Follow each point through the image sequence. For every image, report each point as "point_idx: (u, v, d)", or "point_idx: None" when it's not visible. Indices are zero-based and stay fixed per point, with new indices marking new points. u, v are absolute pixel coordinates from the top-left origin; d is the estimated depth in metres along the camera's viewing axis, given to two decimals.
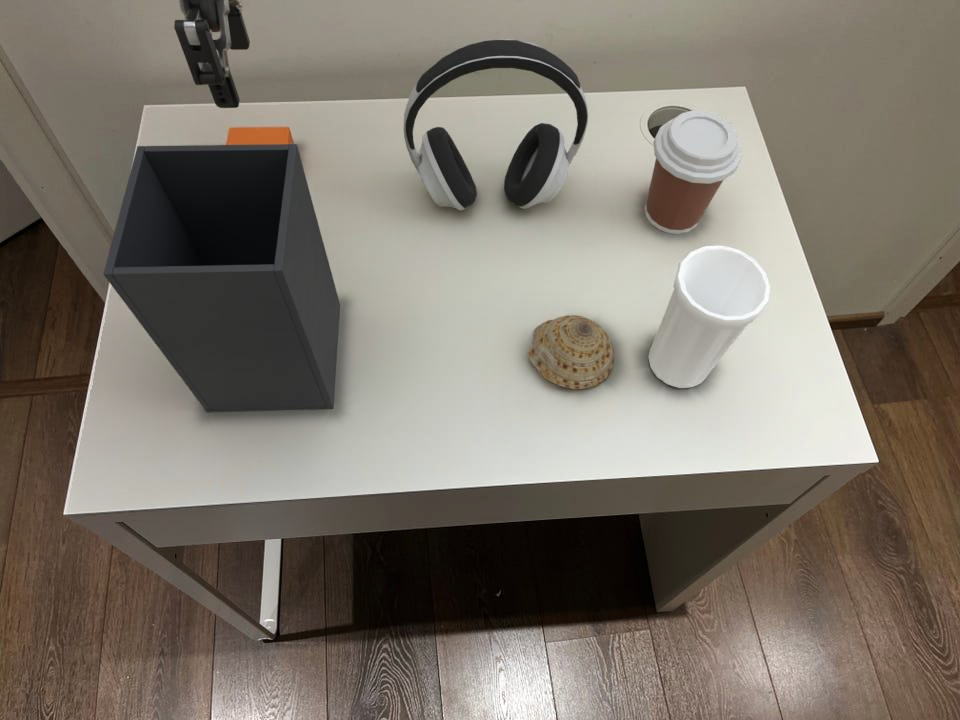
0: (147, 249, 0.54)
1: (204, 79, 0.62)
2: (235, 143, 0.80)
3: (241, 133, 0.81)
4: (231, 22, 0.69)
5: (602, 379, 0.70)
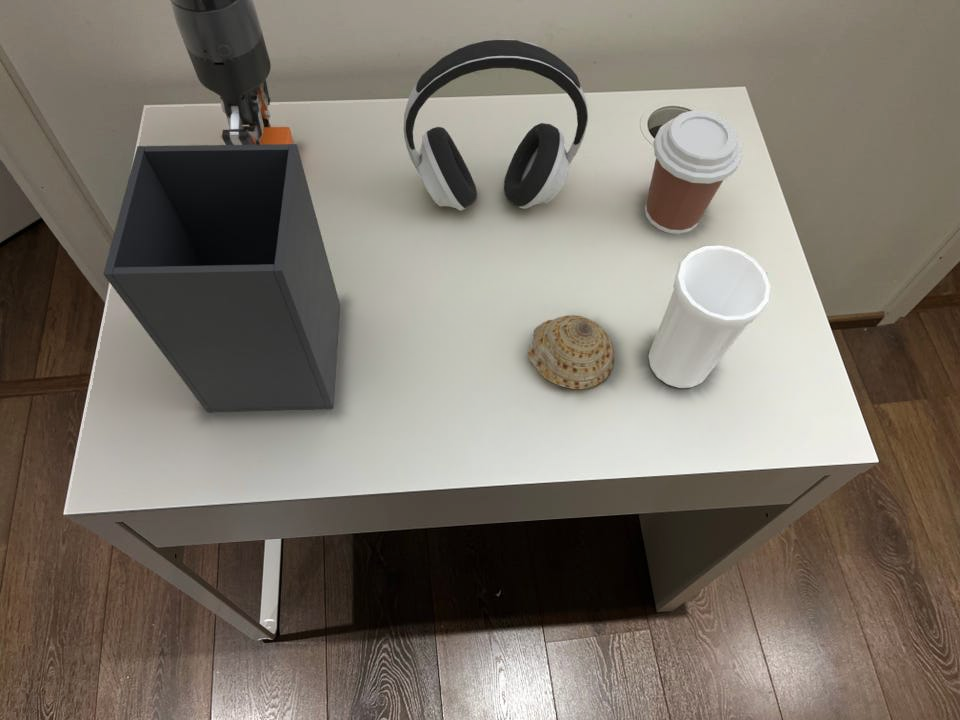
0: (147, 249, 0.54)
1: None
2: None
3: None
4: None
5: (602, 379, 0.70)
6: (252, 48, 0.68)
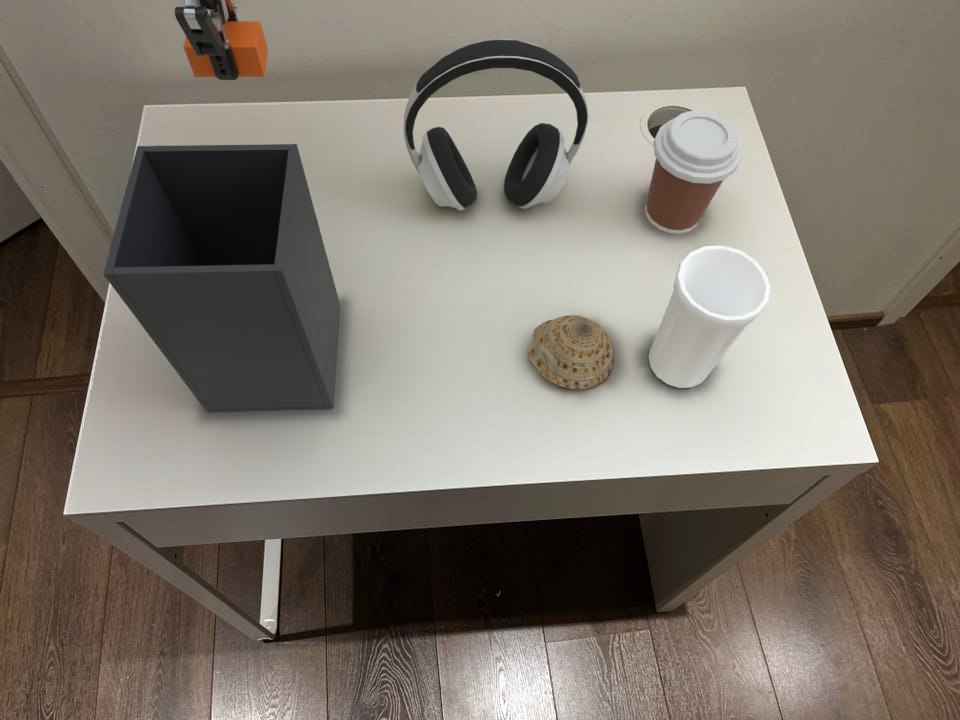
0: (147, 249, 0.54)
1: (205, 49, 0.65)
2: None
3: None
4: None
5: (602, 379, 0.70)
6: None
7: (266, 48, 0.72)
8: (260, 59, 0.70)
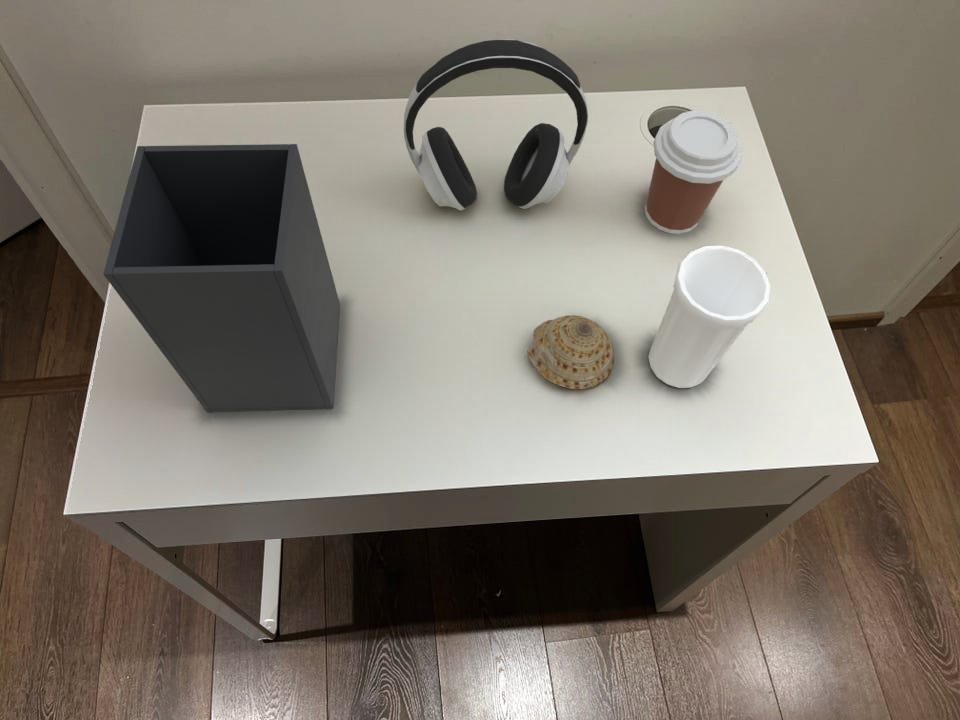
0: (147, 249, 0.54)
1: None
2: None
3: None
4: None
5: (602, 379, 0.70)
6: None
7: None
8: None
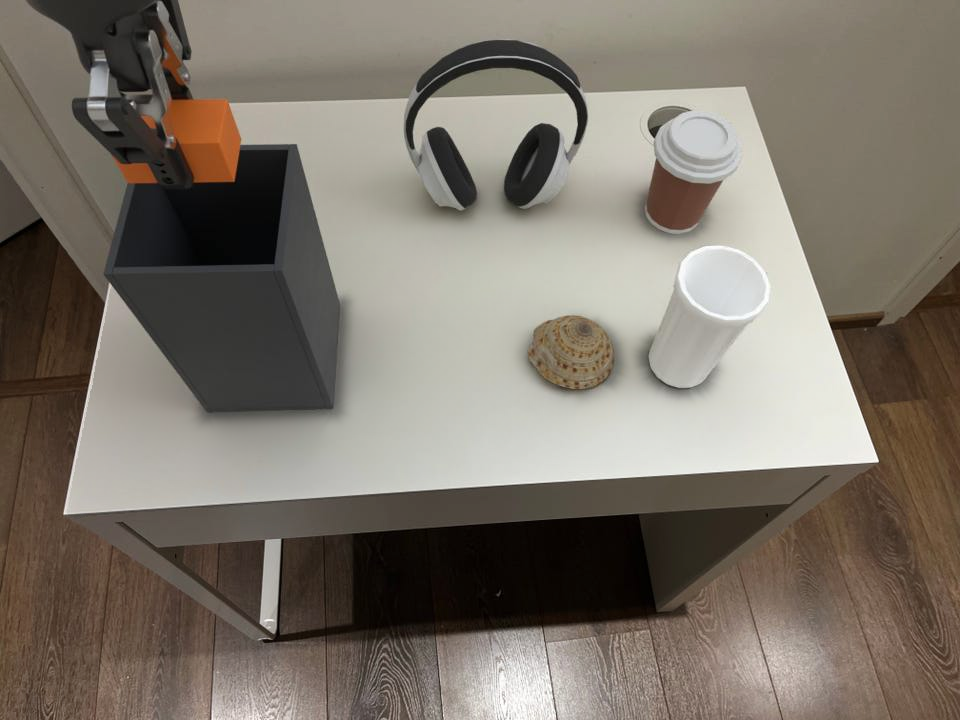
0: (147, 249, 0.54)
1: (134, 156, 0.40)
2: None
3: None
4: None
5: (602, 379, 0.70)
6: None
7: (238, 136, 0.48)
8: (227, 158, 0.45)
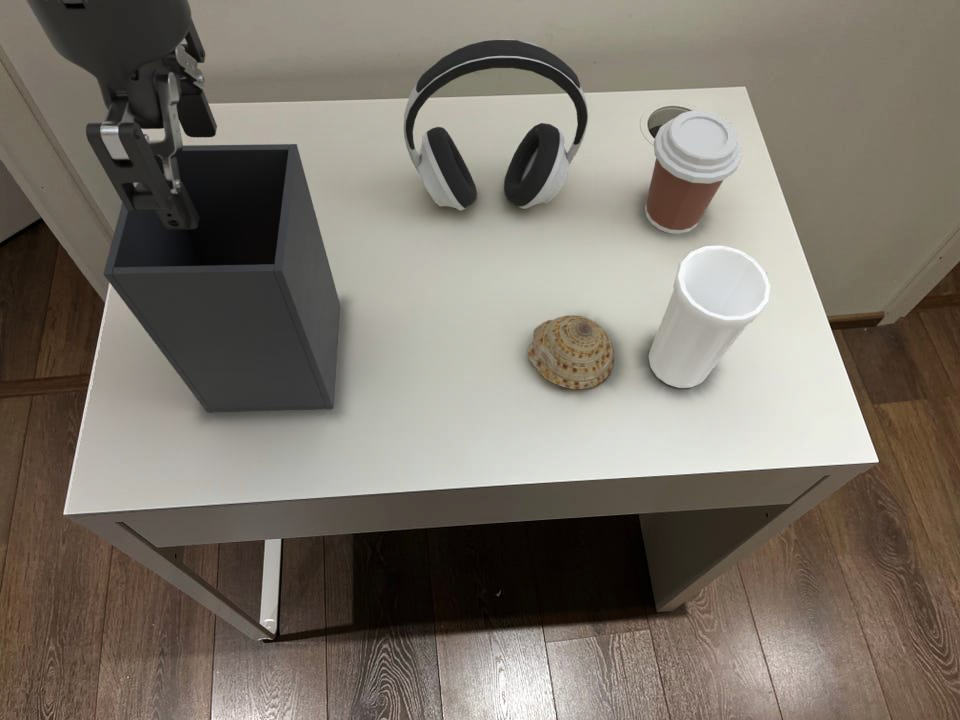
0: (147, 249, 0.54)
1: (140, 203, 0.41)
2: None
3: None
4: (188, 103, 0.48)
5: (602, 379, 0.70)
6: None
7: None
8: None
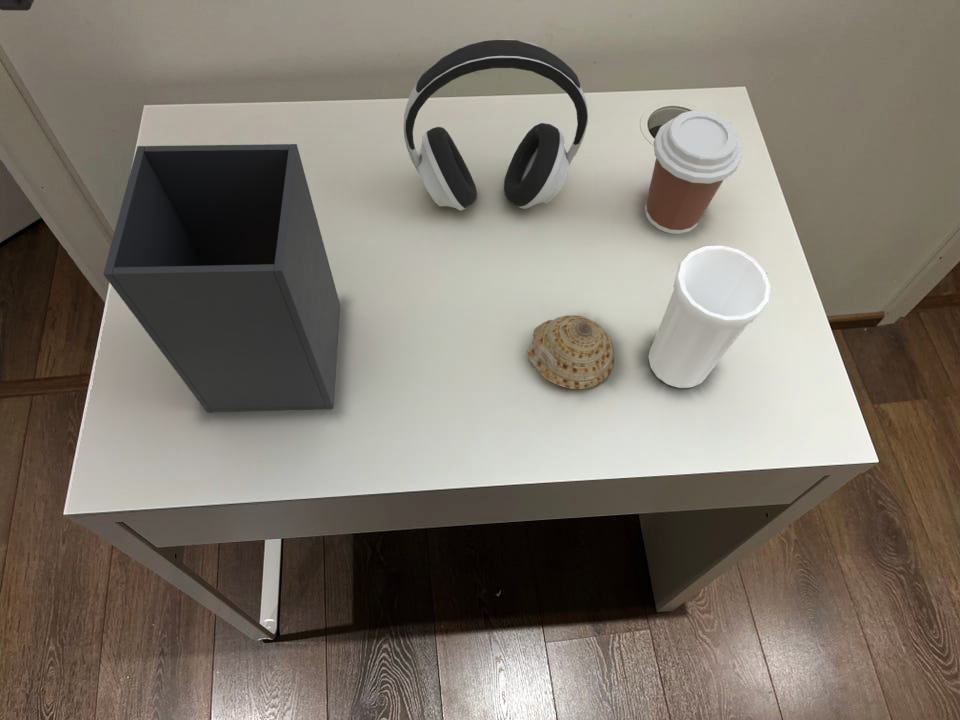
0: (147, 249, 0.54)
1: None
2: None
3: None
4: None
5: (602, 379, 0.70)
6: None
7: None
8: None
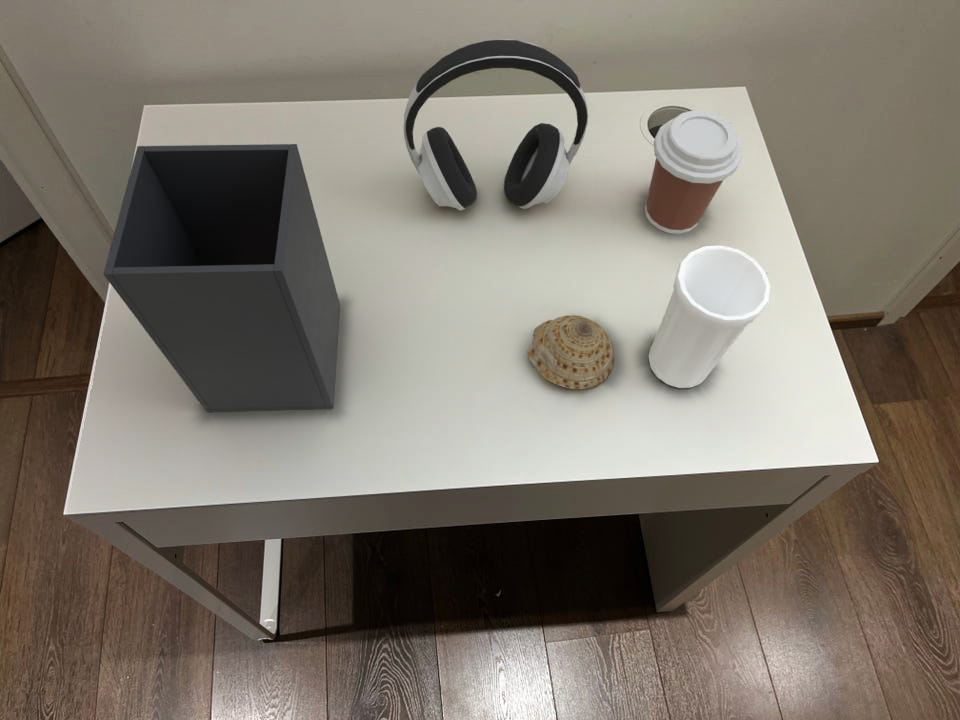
0: (147, 249, 0.54)
1: None
2: None
3: None
4: None
5: (602, 379, 0.70)
6: None
7: None
8: None
